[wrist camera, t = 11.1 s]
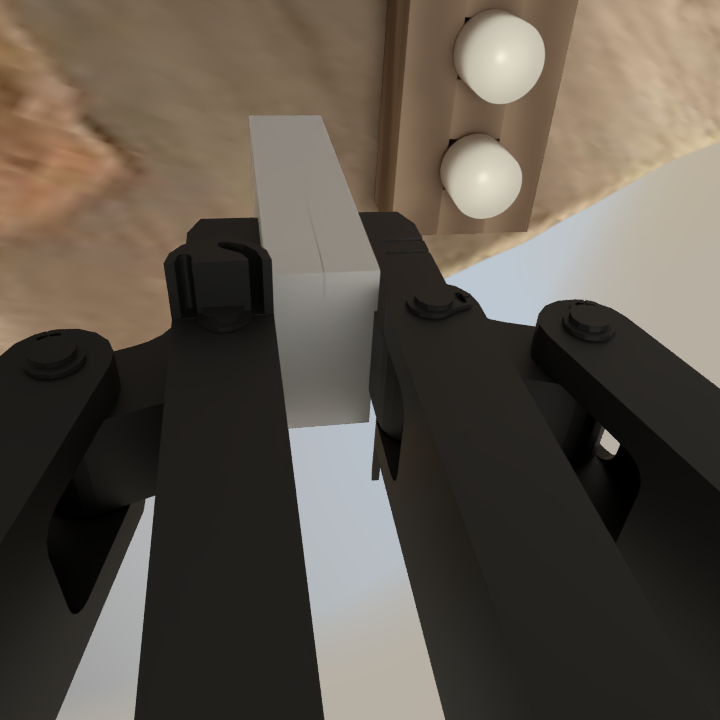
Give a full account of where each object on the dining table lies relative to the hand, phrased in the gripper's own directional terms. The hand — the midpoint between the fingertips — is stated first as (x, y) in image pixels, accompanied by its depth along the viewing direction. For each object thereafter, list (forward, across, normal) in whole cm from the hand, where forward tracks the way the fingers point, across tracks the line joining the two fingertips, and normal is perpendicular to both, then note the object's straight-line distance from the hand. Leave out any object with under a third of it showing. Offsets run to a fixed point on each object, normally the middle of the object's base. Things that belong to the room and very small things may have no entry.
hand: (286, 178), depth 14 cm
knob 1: (+32, +14, -3) cm, 35 cm away
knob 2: (+32, +14, -10) cm, 36 cm away
